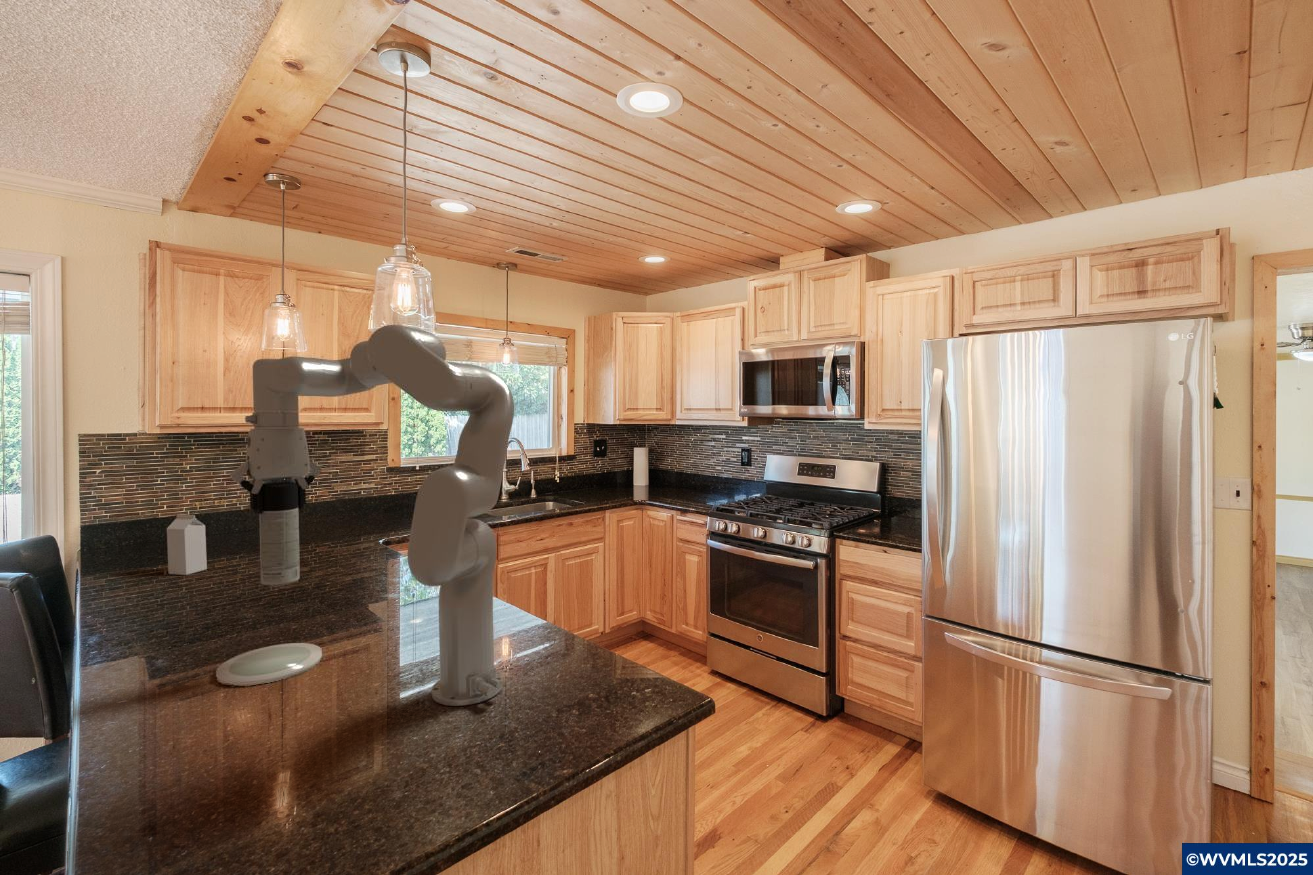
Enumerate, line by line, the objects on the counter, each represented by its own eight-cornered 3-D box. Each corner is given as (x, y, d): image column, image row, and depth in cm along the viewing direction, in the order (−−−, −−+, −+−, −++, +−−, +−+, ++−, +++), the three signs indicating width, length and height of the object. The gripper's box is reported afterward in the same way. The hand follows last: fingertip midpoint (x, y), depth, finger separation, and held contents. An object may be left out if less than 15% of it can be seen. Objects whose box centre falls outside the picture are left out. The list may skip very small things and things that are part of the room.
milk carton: (186, 575, 189) (183, 516, 188) (168, 574, 190) (165, 516, 189) (207, 569, 196) (205, 513, 195) (189, 568, 197) (187, 512, 196)
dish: (336, 662, 121) (336, 656, 121) (232, 695, 107) (232, 688, 107) (302, 641, 132) (302, 636, 132) (204, 669, 118) (204, 662, 118)
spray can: (292, 575, 123) (290, 480, 122) (305, 581, 118) (303, 483, 117) (256, 582, 118) (252, 483, 117) (267, 589, 113) (264, 486, 112)
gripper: (230, 422, 107) (233, 519, 108) (331, 421, 121) (332, 507, 122) (218, 421, 112) (221, 514, 113) (316, 420, 126) (318, 503, 126)
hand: (278, 509), depth 117 cm, fingers closed on spray can, 6 cm apart
